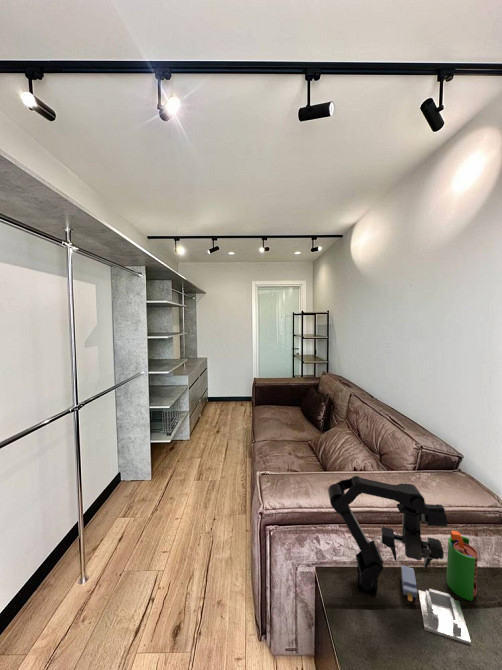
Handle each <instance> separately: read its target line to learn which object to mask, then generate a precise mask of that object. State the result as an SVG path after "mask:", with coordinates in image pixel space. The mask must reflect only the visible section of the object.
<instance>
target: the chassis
mask: <svg viewBox="0 0 502 670" xmlns="http://www.w3.org/2000/svg"><path fill="white" fill-rule="evenodd" d="M417 594H418V598H419V603H420V609H421V612H420V613H421V616H422V623H423V628H424V631H426V632H430V633H432V634H437V635H439V636H442V637H446V638H449V639H452V640H456V641H458V642H461V643H465V644H467V645H472V643H471V638H470V634H469V631H468V628H467V625H466V624H467V623H466V621H465V616H464V613H463V610H462V607H461V603H460V601H459V600H455V599H454V597H452V596H451V595H450V594H449V593H448V592H447V593H446V592H443V591H439V590H436V589H432V588H429V589H428V590H425V591H424V590H420V589H417Z"/></svg>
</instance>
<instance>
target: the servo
mask: <svg viewBox="0 0 502 670" xmlns="http://www.w3.org/2000/svg"><path fill="white" fill-rule="evenodd" d="M400 567H401V587H402V594H403V595H405V596H407V601H409V602H412V601H414V600H413V599H416V598H417V595H418V589H417V581H416V575H415V570H414V568H413V567H410V566H405V565H400ZM414 597H415V598H414Z"/></svg>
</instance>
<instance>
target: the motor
mask: <svg viewBox="0 0 502 670" xmlns="http://www.w3.org/2000/svg"><path fill="white" fill-rule="evenodd" d="M478 557H479V553H478V551H477V550H476V549H475V548H474V547H473V546H472V545H470V538H469V537H466V536H463V535H462V534H461V533H460V532H459V531H457V530H451V531H450V537H448V541H447V561H446V562H447V563H446V584H447V586H448V588H449V589H450V590H451V591H452V592H453V593H454V594H455V595H457V596H458V597H460V598H461V599H464V600H467V601H474V598H475V597H476V596H477V593H478V585H477V576H478V575H477V574H478V573H477V571H478V559H479V558H478Z"/></svg>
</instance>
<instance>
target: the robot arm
mask: <svg viewBox="0 0 502 670" xmlns="http://www.w3.org/2000/svg"><path fill="white" fill-rule="evenodd" d="M345 491H346V492H345ZM327 494H328V498H329V503H330V506H331V508H332V509H333V510H334V511H335V512H336V513H337V514H338V516H339V515H340V517H342V519H343V521H344V523H345V525H346V527H347V528H348V530H349V532H350V534H351V535H352V538H353V539H354V541H355V543H356V545H357V546H358V548H359V550H360V551H359V552H358V553H357V554H355V558H356V559H355V560H356V562H357V568H356V591H357V592H359V593H363V594H366V595H369V596H373V597H377V591H379V587H378V586H379V576H380V575H381V574H382V572H383V570H384V565H383V564H385V563H384V560H383V558H382V557H383V556H382V554H381V551H380V549H379V547H378V546H377V545H376V543H375V540H374V539H372V540H369V539H368V538H367V536H366V534H365V533H364V530H363V529H362V526H361V525H360V523H359V521H358V520H357V518H356V516H355V515H354V512H353V510H352V509H351V507H350V504H352V503H353V502H354V501H355V500H356V498H357V497H358V496H360V495H361V494H365V495H369V496H375V497H377V498H382V499H387V500H391V501H394V502H397V504H396V508H397V510H398V512H399V513H400V514H402V520H401V521H402V523H401V527H402V528H401V535H400V534H395V532H394V528H389V527H387V526H383V527H382V528H381V543H382V544H383V545H385V546H386V547H387V548H389V549H390V550H391V553H392V557H393V558H394V561H395V562H397V551H396V543H395V542H397V543H400V544H402V545H403V544H404V553H405V554H404V555H405V556H406V557H407V558H408V559H413V560H416V561H419V562H420V561H421V560H423V559H424V560H423V567H424V569H425V570H427V568H428V566H429V565H430V564H431V562H432V561H433V560H439V559H440V560H443V559H444V554H445V553H444V549H443V544H442V541H441V540H440V539H437V538H433V537H428V536H427V538H426V540H424V539H422V537H421V536H422V535H421V534H422V522H424V523H425V524H426V526H427V527H428V526H429V527H441V528H442V527H444V528H447V527H448V523H449V522H448V519H447V515H446V512H445V510H446V509H445V507H444V506H443V505H442V504H429V503H426V501H425V498H424V496H423V495H422V493H421V492H420V490H419V489H418V487H417V486H416V485H415V484H412V483H403V482H402V483H398V484H390V483H386V482H382V481H377V480H374V479H367V478H363V477H360V476H359V475H354V476H352V477H350V478H348V479H342V480H339V481H338V482H336V483H334V484H333V483H332V484H331V485H329V487H328V489H327Z"/></svg>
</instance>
